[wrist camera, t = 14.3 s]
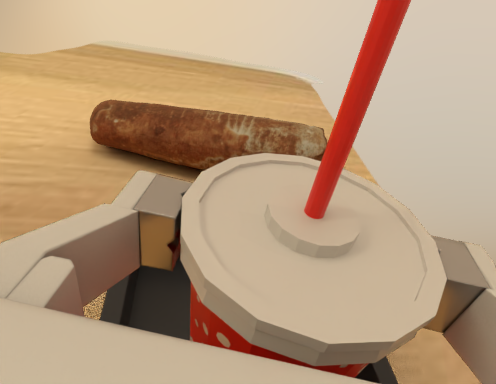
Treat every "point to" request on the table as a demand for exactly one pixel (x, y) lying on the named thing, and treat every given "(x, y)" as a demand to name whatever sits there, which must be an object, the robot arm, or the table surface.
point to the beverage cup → (310, 246)
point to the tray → (178, 310)
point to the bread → (199, 134)
